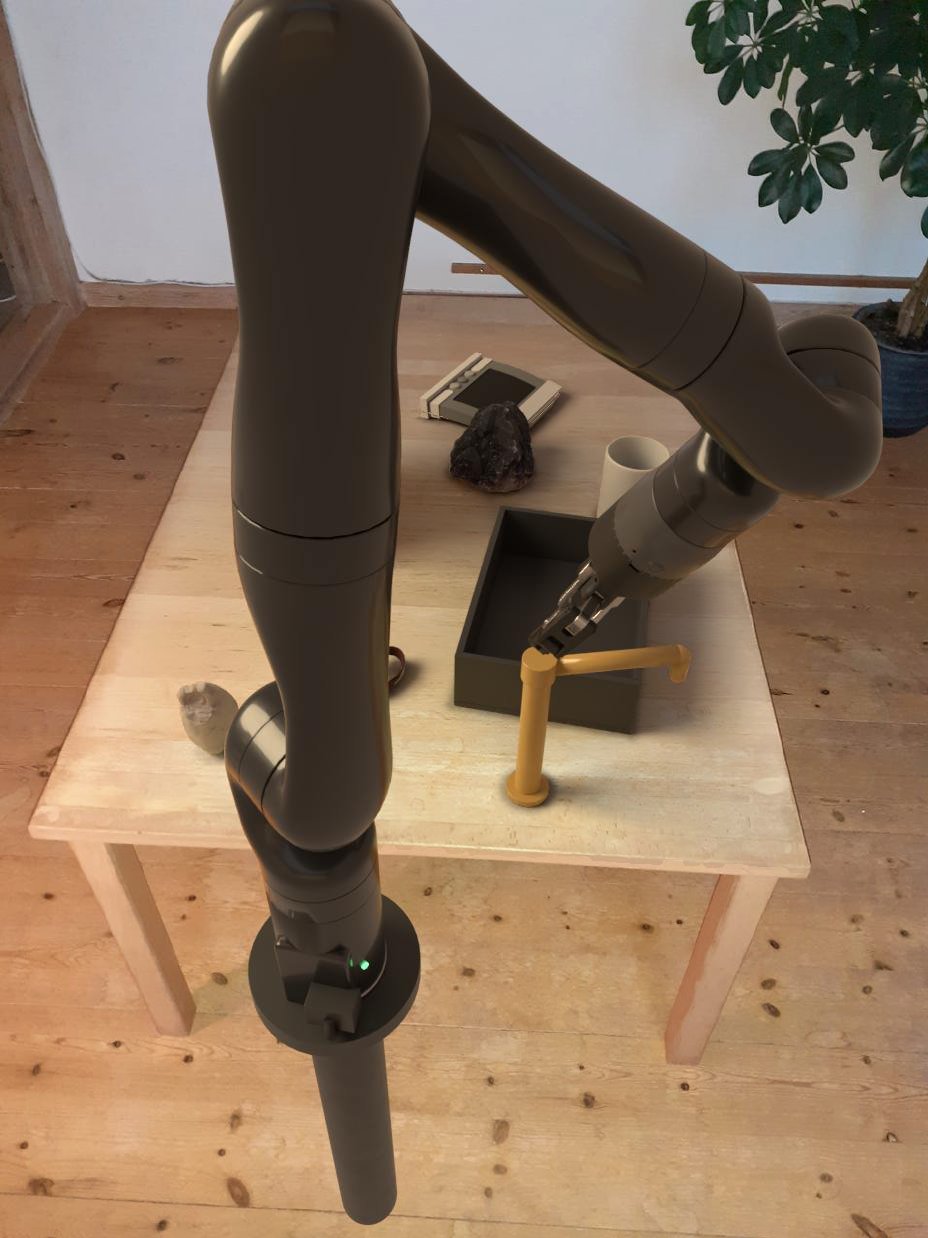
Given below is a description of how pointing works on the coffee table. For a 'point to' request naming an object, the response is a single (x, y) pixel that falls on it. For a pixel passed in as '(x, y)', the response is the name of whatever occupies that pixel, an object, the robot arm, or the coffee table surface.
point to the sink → (521, 601)
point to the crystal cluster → (494, 450)
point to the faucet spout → (602, 663)
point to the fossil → (206, 714)
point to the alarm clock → (488, 391)
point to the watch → (399, 654)
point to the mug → (628, 466)
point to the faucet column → (530, 750)
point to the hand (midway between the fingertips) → (562, 610)
